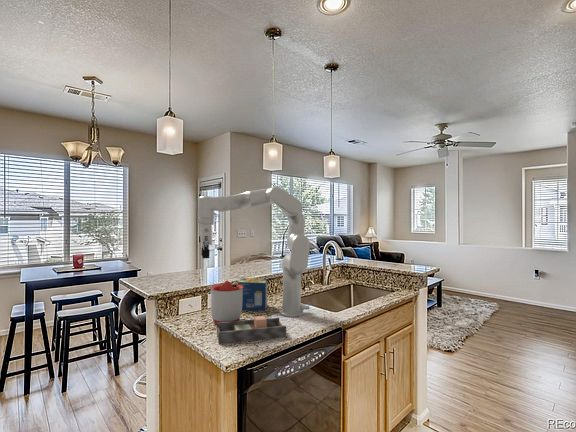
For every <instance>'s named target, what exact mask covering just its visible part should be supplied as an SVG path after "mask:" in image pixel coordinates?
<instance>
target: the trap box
mask: <svg viewBox="0 0 576 432" xmlns="http://www.w3.org/2000/svg"><path fill="white" fill-rule="evenodd" d="M266 319H267V324H266V328H255V327H254V319H244V320H239V321H231V322H219V323H217V324H216V337H217V342H218V344H219V345H221V344H231V343H243V342H251V341H261V340H269V339H279V338H280V339H282V338H287V325H283V324H282V323H281V322H280V317H271V318H266Z"/></svg>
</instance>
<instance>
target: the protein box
mask: <svg viewBox="0 0 576 432" xmlns="http://www.w3.org/2000/svg"><path fill="white" fill-rule="evenodd" d="M237 285H242V286H243V300H242V311H254V312H255V311H257V312H264V311H266V310H267V307H268V278H254V277H253V278H251V277H250V278H247V277H245V278H244V277H243V278H242V277H241V278H240V279H239V280H238V281H237Z"/></svg>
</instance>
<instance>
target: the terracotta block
mask: <svg viewBox="0 0 576 432" xmlns="http://www.w3.org/2000/svg"><path fill="white" fill-rule="evenodd" d="M253 318H254V319H253V320H254V327H255V328H266V324H267V318H266V317H265V315H260V316H259V315H258V316H254V317H253Z"/></svg>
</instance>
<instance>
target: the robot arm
mask: <svg viewBox="0 0 576 432" xmlns="http://www.w3.org/2000/svg"><path fill="white" fill-rule="evenodd" d="M197 201H198V202H197V225H199V226H200V227H199V229H200V232H199V234H200V236H199V239H200V245H201V252H200V253H201V256H202V257H201V258H202V259H210V246H212V245H213V227H212V226H214V224H215V211H216V212H219V213H221V212H224V213H225V212H228V211H233V210H240V209H250V208H251V209H252V208H257V207H263V206H270V205H274V204H275V206H277V207H278V208H280V209H281V212H282V213H283V215H285V216H286V218H287V220H288V231H287V238H286V246H287V248H288V249H289V250H290V253H288V254H286V255H285V256H284V257H283V259H282V262H281V267H282V308H281V309H280V310H279V315H280V316H283V317H291V318H294V317H295V318H296V317H301V316H303V315H304V311H305V310H310V305H305V304H301V299H302V298H301V296H302V294H301V293H302V274H303V273H305V272H306V270H307V268H308V263H309V259H310V258H309V257H310V250H311V248H310V247H311V245H310V240H309V237H308V236H306V235H305V230H306V229H305V228H306V222H305V221H306V220H305V217H304V214H303V203H302V202H301V201H300V200H299V199H298V198H297V197H295V196H294V195H292V194H291V193H289V192H288V191H286V190H285V189H284V188H282V187H280V186H273V187H267V188H261V189H255V190H248V191H244V192H242V193H238V194H233V195H227V196H223V195H221V196H206V195H205V196H204V195H201V196H199V197H198V200H197Z"/></svg>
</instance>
